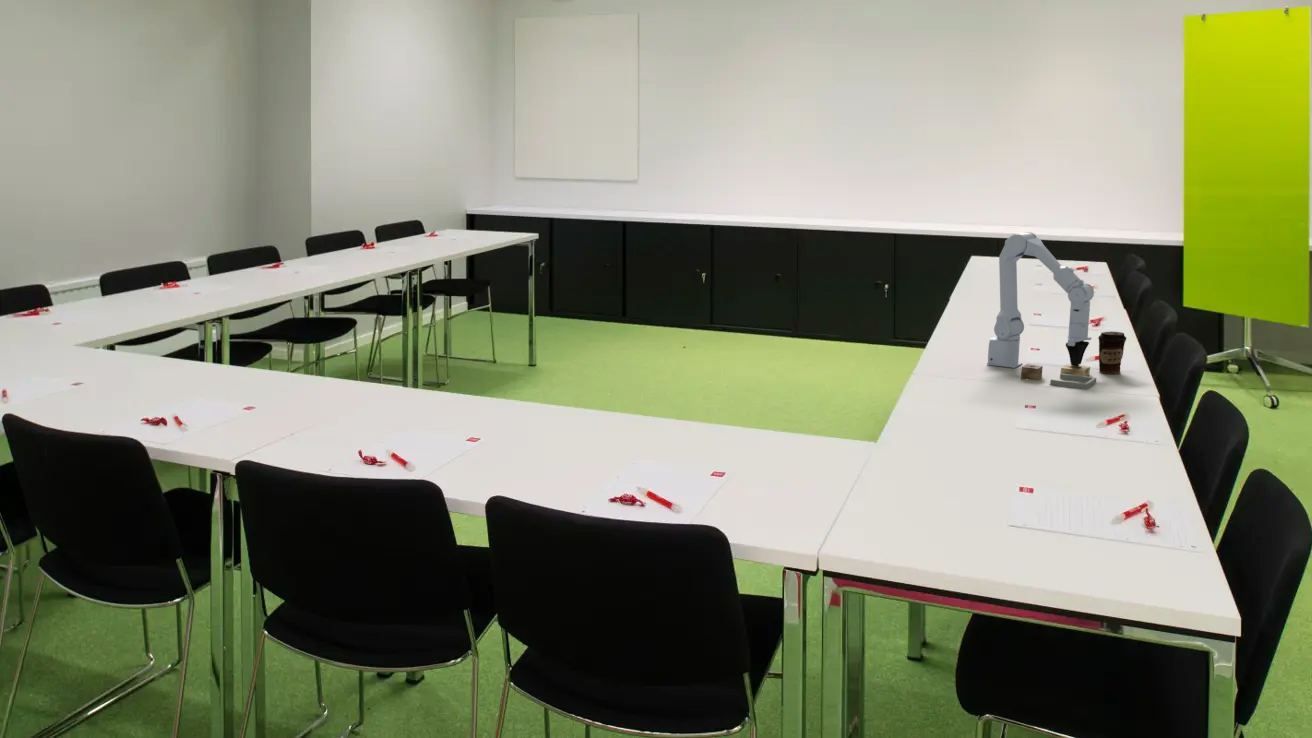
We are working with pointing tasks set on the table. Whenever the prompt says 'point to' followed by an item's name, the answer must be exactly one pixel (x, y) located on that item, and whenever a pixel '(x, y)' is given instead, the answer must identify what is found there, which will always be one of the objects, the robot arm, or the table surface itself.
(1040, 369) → the walnut block
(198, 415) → the table surface
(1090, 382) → the grey arch piece
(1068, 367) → the oak block
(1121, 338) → the coffee cup
